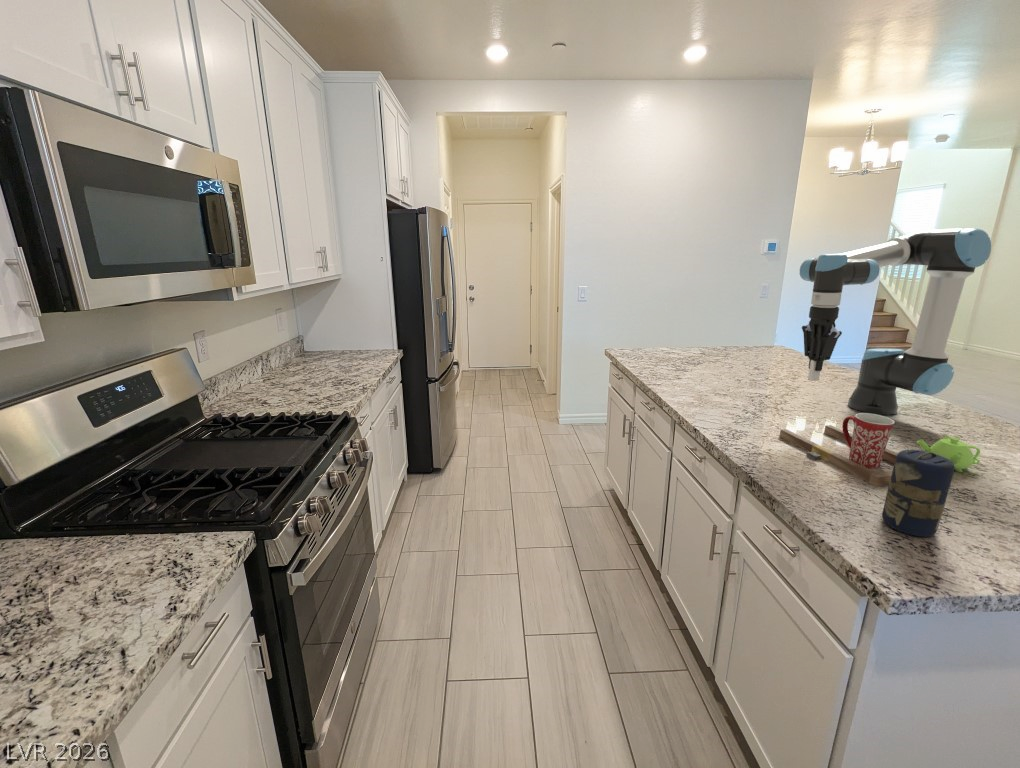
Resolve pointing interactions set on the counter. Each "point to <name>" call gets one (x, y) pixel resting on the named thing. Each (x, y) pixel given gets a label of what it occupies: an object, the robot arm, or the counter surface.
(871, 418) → the mug
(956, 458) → the teapot
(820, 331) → the robot arm
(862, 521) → the counter surface
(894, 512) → the canister
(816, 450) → the beam slot
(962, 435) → the counter surface
